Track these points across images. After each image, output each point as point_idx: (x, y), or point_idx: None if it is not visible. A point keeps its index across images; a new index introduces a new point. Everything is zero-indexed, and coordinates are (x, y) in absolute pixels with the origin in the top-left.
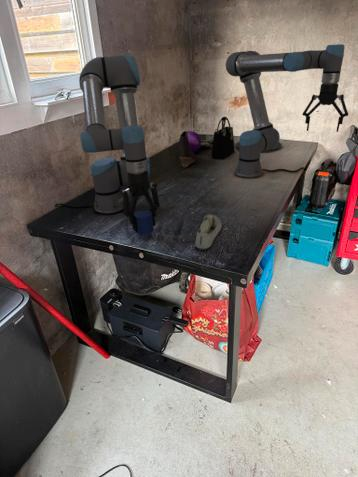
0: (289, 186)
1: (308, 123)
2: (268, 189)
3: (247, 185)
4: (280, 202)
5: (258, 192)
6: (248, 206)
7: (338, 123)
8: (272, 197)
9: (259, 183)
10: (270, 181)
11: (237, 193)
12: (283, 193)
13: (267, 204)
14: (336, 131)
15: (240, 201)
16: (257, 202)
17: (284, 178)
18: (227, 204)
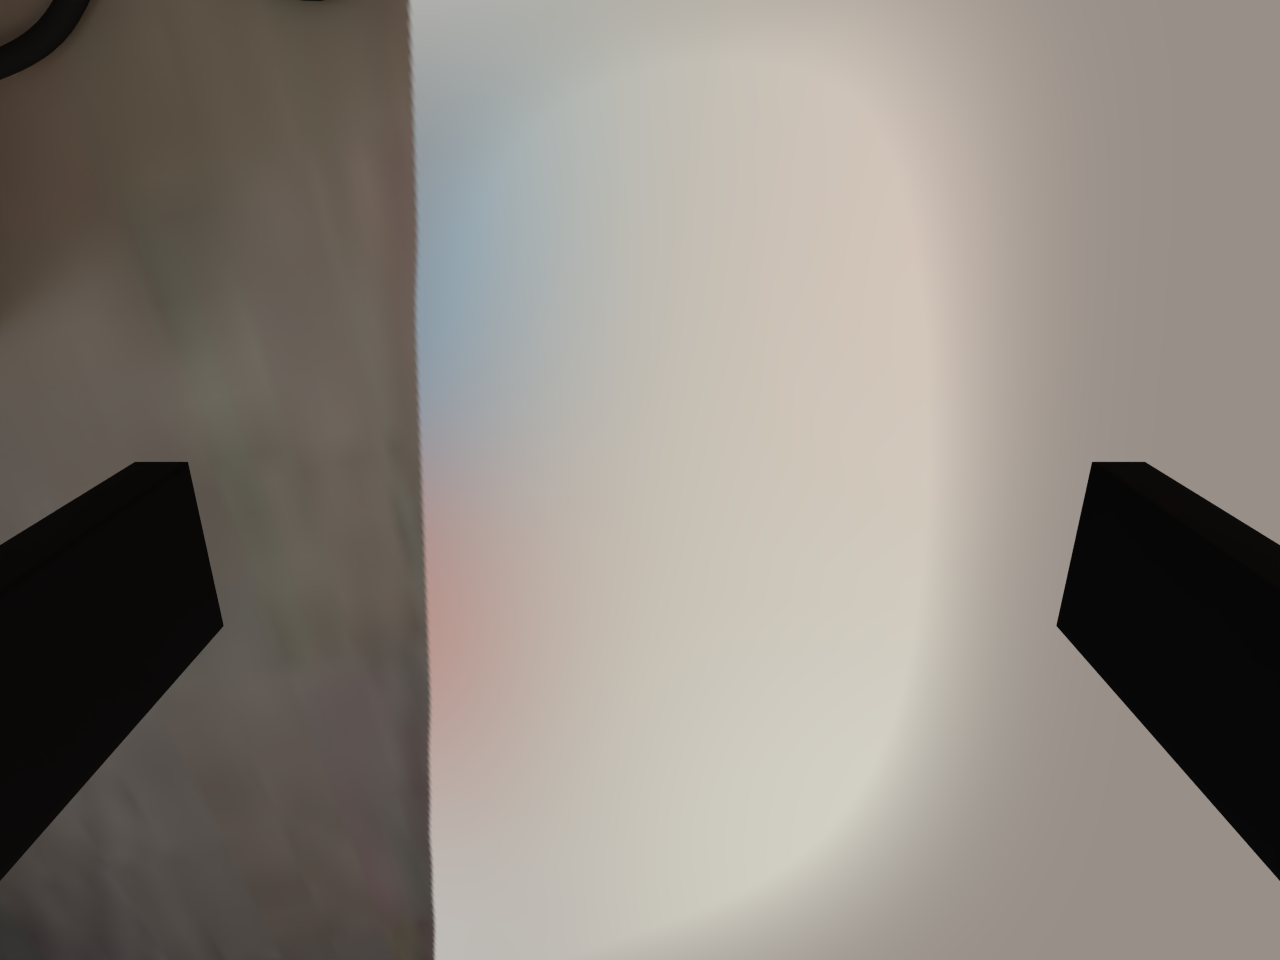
0: (408, 501)
1: (48, 792)
2: (238, 621)
3: None
4: (417, 837)
5: (180, 704)
6: (219, 940)
7: (1240, 814)
8: (331, 770)
9: None
10: (175, 404)
11: None
12: (395, 675)
13: (335, 886)
14: (1063, 605)
15: (125, 885)
16: (253, 873)
17: (292, 263)
18: (64, 945)
